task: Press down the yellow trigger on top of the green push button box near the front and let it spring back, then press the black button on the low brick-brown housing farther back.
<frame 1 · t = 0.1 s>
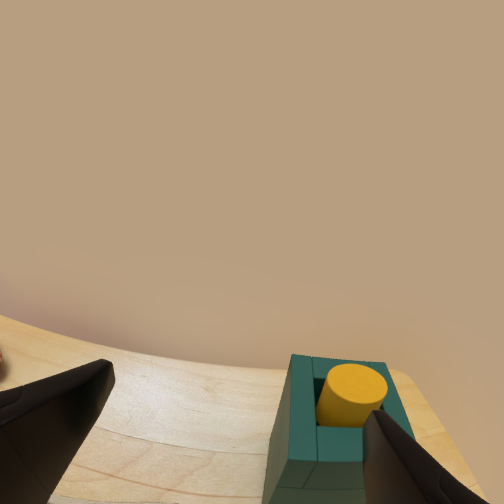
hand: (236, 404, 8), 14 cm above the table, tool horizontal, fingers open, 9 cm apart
green push button box: (349, 401, 15), on the table
fork: (48, 501, 10), on the table
trigger: (350, 400, 14), point 10 cm above the table, slide at 0.1 cm
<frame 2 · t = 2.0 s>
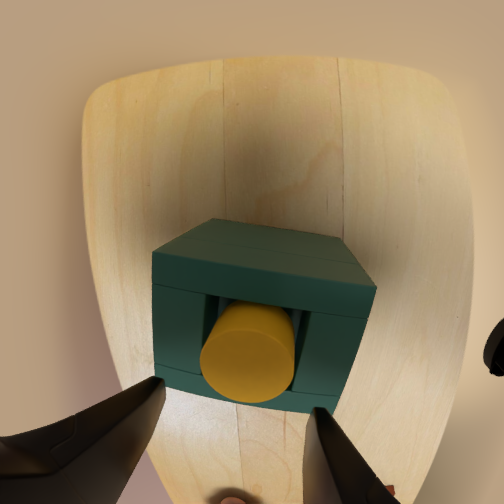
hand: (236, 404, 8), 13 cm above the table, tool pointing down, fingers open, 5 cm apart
figurine: (236, 502, 30), on the table
green push button box: (251, 348, 12), on the table
trigger: (250, 349, 12), point 10 cm above the table, slide at 0.1 cm
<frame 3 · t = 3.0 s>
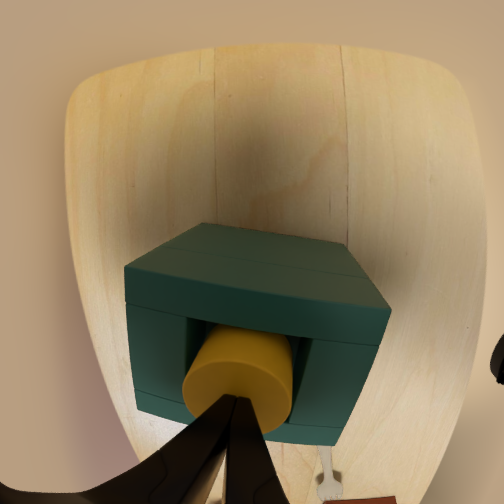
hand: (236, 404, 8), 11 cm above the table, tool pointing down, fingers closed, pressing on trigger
green push button box: (241, 378, 10), on the table
fork: (326, 458, 23), on the table
trigger: (241, 377, 10), point 9 cm above the table, slide at -0.1 cm, touching gripper
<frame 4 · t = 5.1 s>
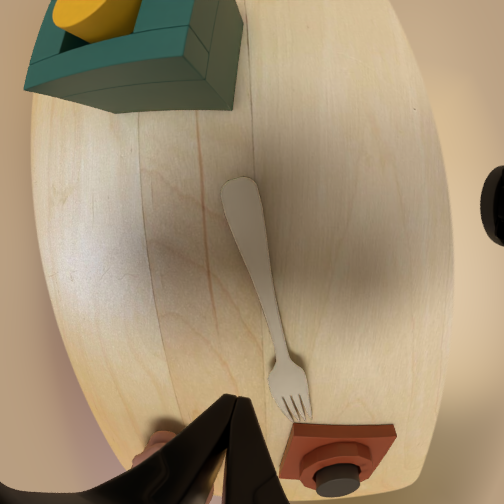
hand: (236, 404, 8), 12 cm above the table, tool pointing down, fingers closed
figurine: (180, 448, 26), on the table
far button: (337, 480, 20), point 4 cm above the table, slide at 0.1 cm
green push button box: (103, 5, 8), on the table
fork: (276, 322, 21), on the table
trigger: (101, 4, 8), point 10 cm above the table, slide at 0.1 cm
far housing: (334, 449, 24), on the table
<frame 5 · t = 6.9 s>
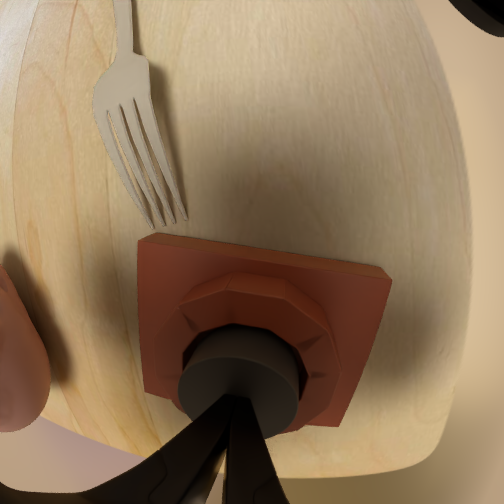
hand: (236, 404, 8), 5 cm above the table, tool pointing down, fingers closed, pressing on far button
figurine: (27, 322, 16), on the table
far button: (240, 386, 9), point 4 cm above the table, slide at -0.1 cm, touching gripper
fork: (132, 29, 10), on the table
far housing: (254, 332, 13), on the table
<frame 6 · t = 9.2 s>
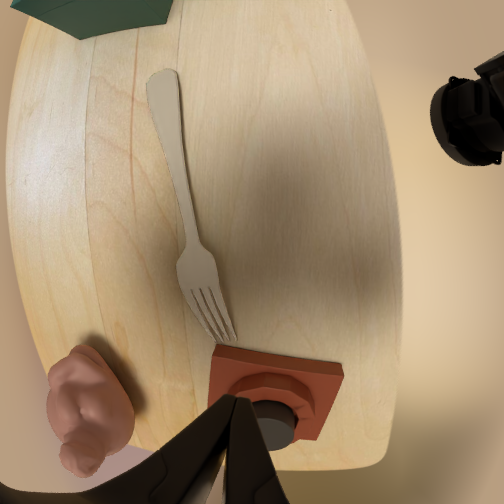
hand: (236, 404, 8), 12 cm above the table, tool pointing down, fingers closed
figurine: (108, 378, 25), on the table
far button: (267, 426, 19), point 4 cm above the table, slide at 0.1 cm
fork: (190, 206, 20), on the table
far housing: (271, 392, 23), on the table
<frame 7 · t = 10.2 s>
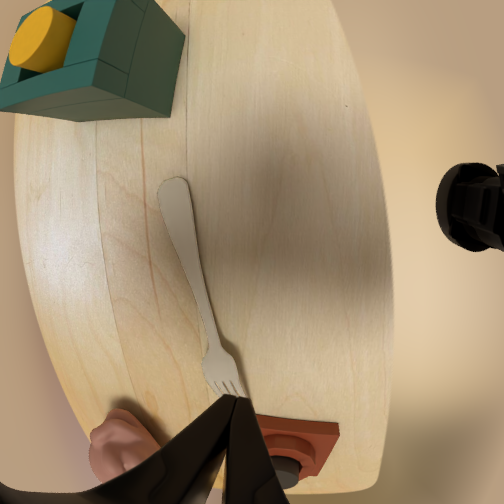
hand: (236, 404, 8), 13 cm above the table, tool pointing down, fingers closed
figurine: (139, 428, 28), on the table
far button: (277, 472, 21), point 4 cm above the table, slide at 0.1 cm
green push button box: (47, 41, 9), on the table
fork: (210, 311, 23), on the table
trigger: (45, 41, 9), point 10 cm above the table, slide at 0.1 cm
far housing: (280, 442, 25), on the table
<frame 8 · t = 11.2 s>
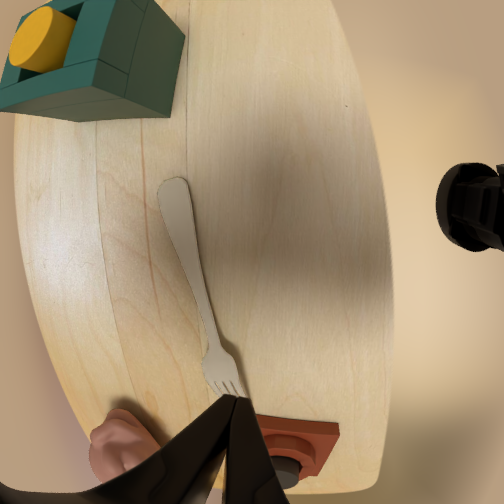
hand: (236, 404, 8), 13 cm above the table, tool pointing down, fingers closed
figurine: (139, 428, 28), on the table
far button: (277, 472, 21), point 4 cm above the table, slide at 0.1 cm
green push button box: (46, 41, 9), on the table
fork: (210, 311, 23), on the table
trigger: (45, 41, 9), point 10 cm above the table, slide at 0.1 cm
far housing: (280, 442, 25), on the table
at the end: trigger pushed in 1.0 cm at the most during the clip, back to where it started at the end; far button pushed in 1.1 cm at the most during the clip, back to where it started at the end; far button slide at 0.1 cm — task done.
